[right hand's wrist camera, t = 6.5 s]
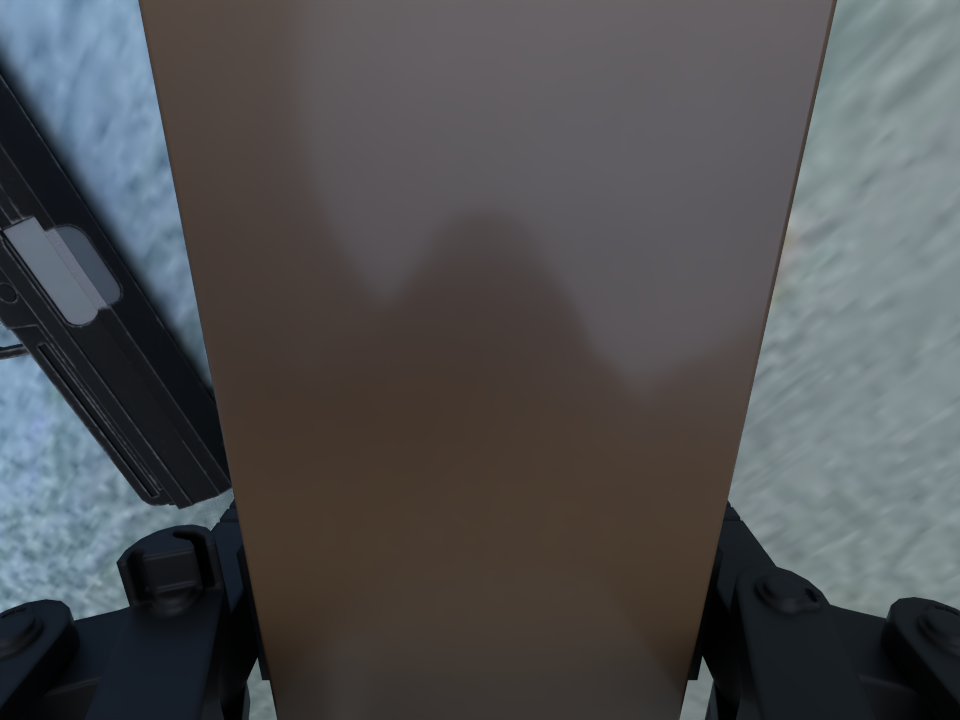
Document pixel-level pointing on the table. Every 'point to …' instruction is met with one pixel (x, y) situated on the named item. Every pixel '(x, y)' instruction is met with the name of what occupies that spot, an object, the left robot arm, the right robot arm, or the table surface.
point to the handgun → (98, 329)
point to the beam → (483, 327)
